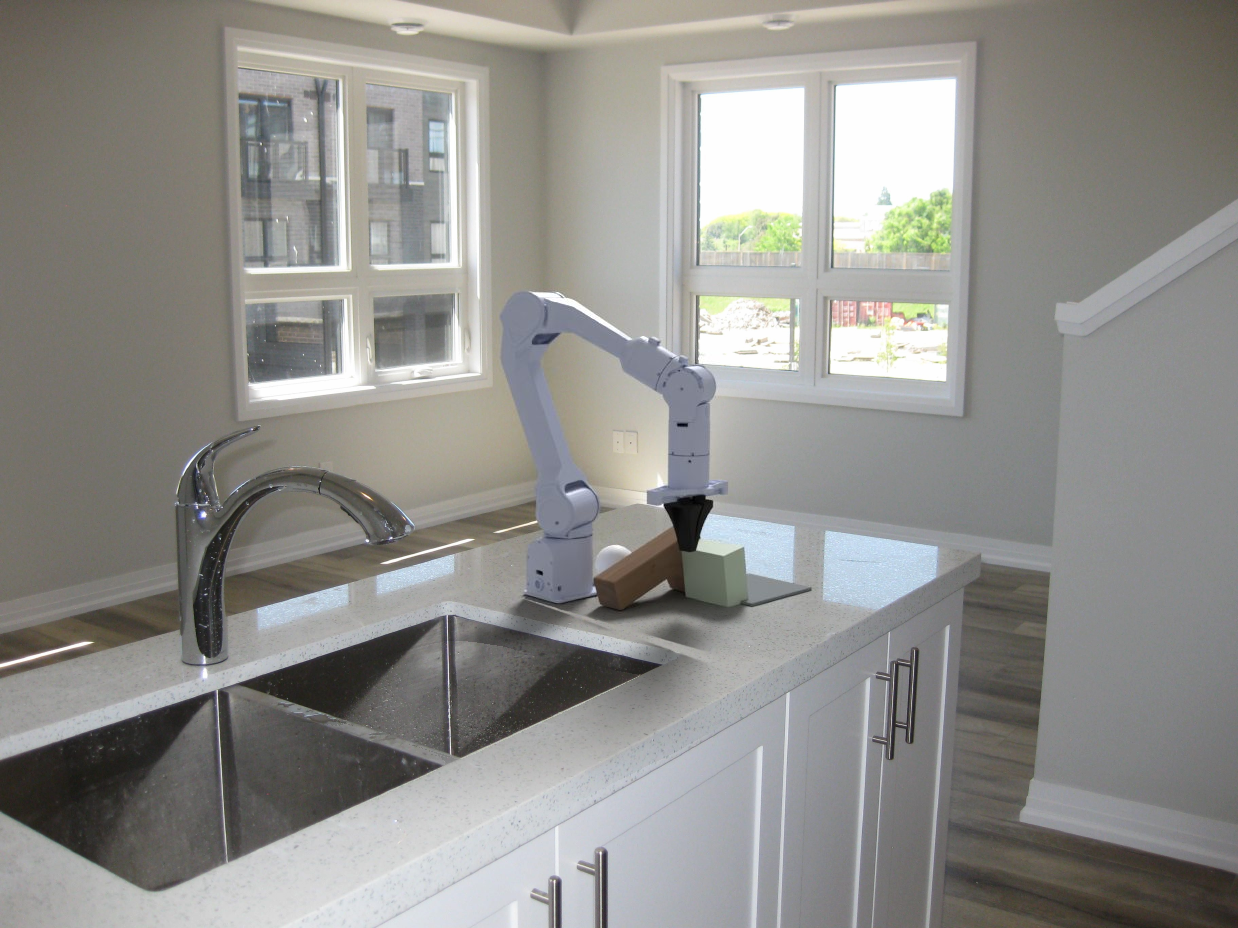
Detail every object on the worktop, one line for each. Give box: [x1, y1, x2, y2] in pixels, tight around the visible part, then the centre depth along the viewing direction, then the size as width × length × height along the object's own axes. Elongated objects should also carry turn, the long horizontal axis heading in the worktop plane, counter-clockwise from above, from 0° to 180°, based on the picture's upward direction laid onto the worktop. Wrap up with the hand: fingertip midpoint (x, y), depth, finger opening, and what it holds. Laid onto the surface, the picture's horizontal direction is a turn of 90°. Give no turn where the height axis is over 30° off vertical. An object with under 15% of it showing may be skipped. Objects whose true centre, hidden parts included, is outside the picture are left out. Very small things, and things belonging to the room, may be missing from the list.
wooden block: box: [593, 525, 702, 611], centre depth 165 cm, size 9×4×18 cm
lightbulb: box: [594, 544, 632, 576], centre depth 177 cm, size 6×6×11 cm
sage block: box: [681, 537, 748, 608], centre depth 165 cm, size 4×8×8 cm, turn 44°
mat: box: [740, 573, 813, 607], centre depth 171 cm, size 14×12×1 cm
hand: (687, 550), depth 160 cm, fingers closed
